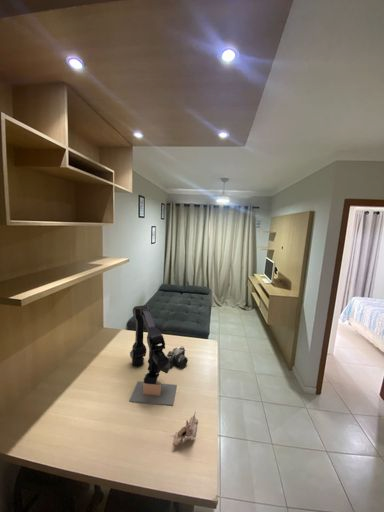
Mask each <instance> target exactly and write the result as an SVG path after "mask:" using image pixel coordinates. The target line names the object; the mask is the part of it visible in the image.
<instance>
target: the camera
mask: <svg viewBox="0 0 384 512" xmlns="http://www.w3.org/2000/svg"><path fill="white" fill-rule="evenodd" d="M185 352H186V349H185V347H184V346H183V345H181V346H180V347H179V348H178V347H175V348H173V350H170V351H168V352H167V354H165V355H166V357H167V358H169V363H170V364H171V366H170V368H173V367H174V366H175V367H176V366H178V367H180V368H185V367H186V366H187V365H188V361H189V360H188V357H187V356H186V355H185V354H186V353H185Z"/></svg>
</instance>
